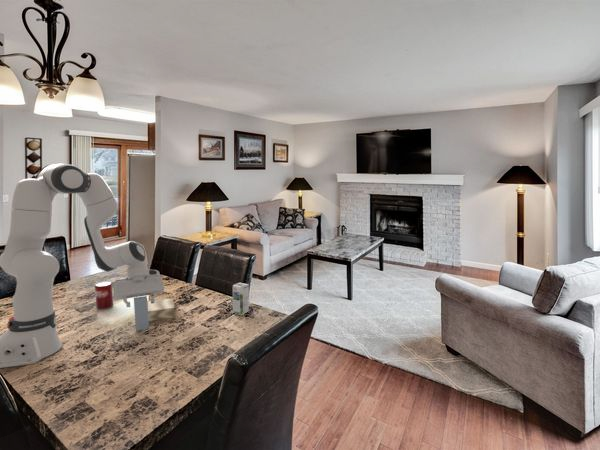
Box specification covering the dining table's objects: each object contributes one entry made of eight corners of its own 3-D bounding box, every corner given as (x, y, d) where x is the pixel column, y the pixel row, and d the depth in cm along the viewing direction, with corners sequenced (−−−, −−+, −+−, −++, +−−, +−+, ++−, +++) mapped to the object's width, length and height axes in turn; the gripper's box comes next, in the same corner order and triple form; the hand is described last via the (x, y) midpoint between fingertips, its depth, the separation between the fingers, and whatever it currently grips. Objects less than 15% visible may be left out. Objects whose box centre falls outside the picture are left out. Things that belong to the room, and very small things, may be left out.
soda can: (105, 310, 157) (103, 286, 155) (92, 309, 158) (90, 285, 156) (116, 304, 164) (115, 282, 162) (104, 303, 165) (102, 281, 163)
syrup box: (232, 314, 156) (231, 285, 153) (240, 309, 161) (239, 281, 159) (241, 316, 153) (241, 287, 151) (249, 312, 158) (249, 283, 156)
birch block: (143, 322, 146) (143, 312, 145) (144, 311, 157) (143, 301, 157) (174, 317, 151) (174, 307, 150) (173, 307, 163) (172, 298, 162)
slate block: (135, 331, 137) (134, 301, 135) (135, 326, 141) (133, 297, 139) (148, 328, 139) (147, 299, 138) (147, 323, 144) (146, 296, 142)
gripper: (111, 276, 139) (112, 305, 132) (162, 270, 149) (166, 297, 142) (112, 283, 144) (113, 312, 137) (161, 277, 154) (165, 303, 147)
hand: (140, 304), depth 140 cm, fingers open, 8 cm apart
